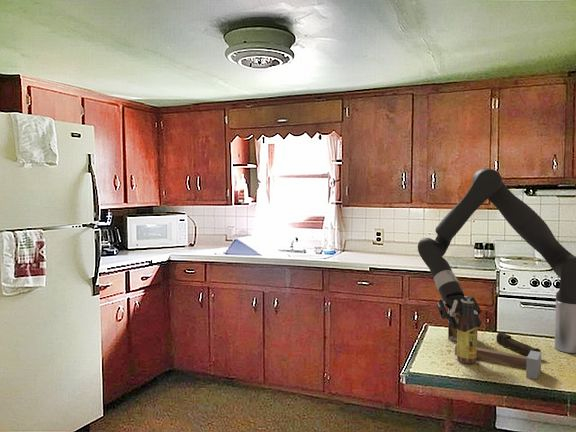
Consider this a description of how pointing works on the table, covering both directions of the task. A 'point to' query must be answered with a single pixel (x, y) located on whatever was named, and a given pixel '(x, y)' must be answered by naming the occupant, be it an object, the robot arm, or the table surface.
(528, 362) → the end stop
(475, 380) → the table surface
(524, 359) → the walnut straightedge
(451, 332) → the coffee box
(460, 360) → the sauce bottle
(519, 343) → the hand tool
